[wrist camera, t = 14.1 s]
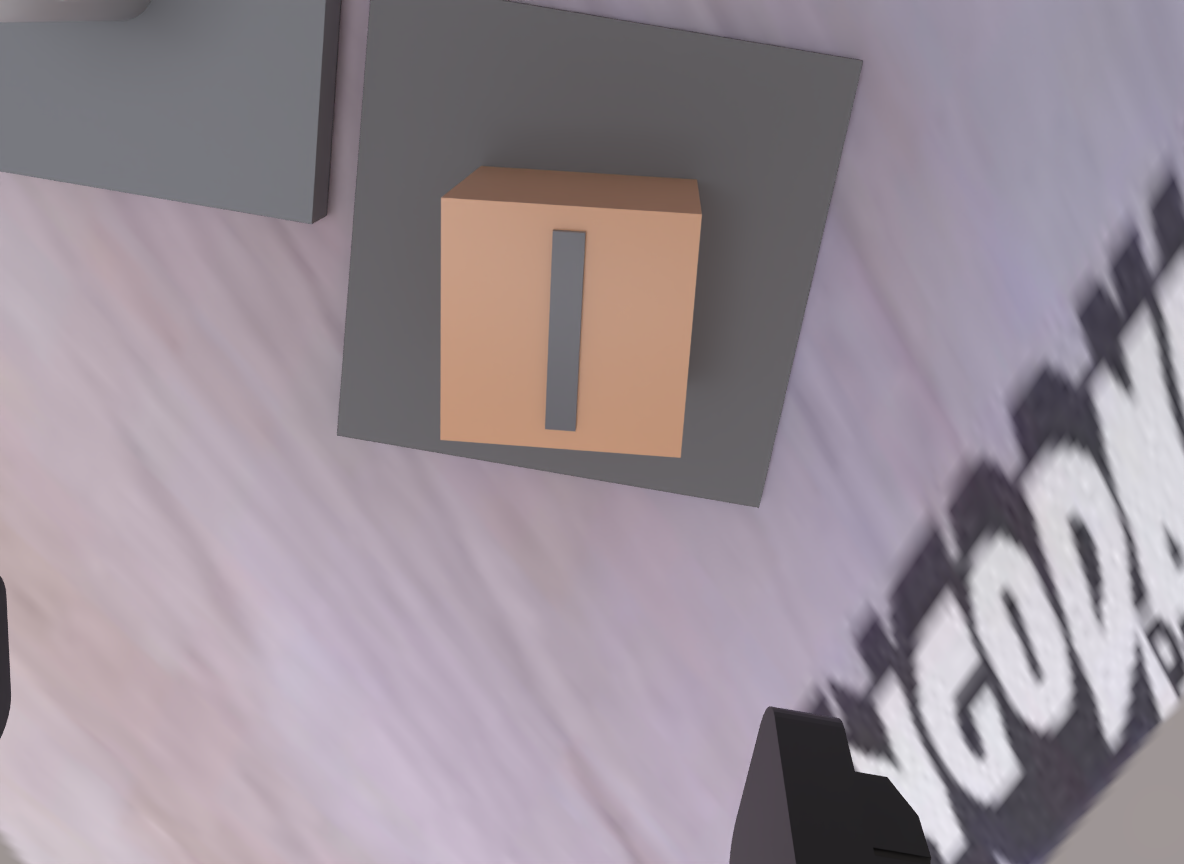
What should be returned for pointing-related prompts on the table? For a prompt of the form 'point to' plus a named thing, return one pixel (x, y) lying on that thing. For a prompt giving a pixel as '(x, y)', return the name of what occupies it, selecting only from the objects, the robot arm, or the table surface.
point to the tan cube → (567, 309)
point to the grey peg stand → (174, 99)
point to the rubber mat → (608, 146)
